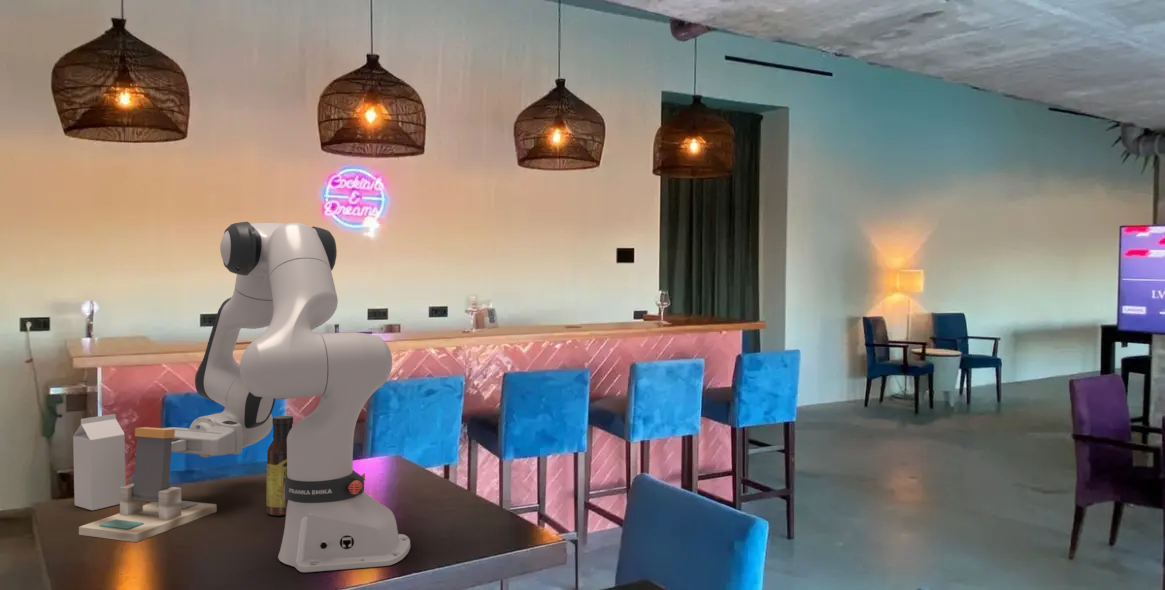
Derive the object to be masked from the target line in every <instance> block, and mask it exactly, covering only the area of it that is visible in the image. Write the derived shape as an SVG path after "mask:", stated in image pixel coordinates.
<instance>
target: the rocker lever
mask: <svg viewBox="0 0 1165 590" xmlns="http://www.w3.org/2000/svg"><path fill="white" fill-rule="evenodd" d="M165 428H166V427H152V426H151V427H150V426H144V427H135V428H134V437H136V447H135V461H134V463H135V464H134V472H133V473H134V474H133V475H134V477H133V483H134V487H133V500H142V501H143V502H150V503H152V502H159V496H158V492H159V491H162V490H165V489H168V488H170V487H169V485H170V472H171V471H170V470H171V460H172V459H171V458H172V452H171V446H172V438H173V437H175V429H165Z"/></svg>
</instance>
